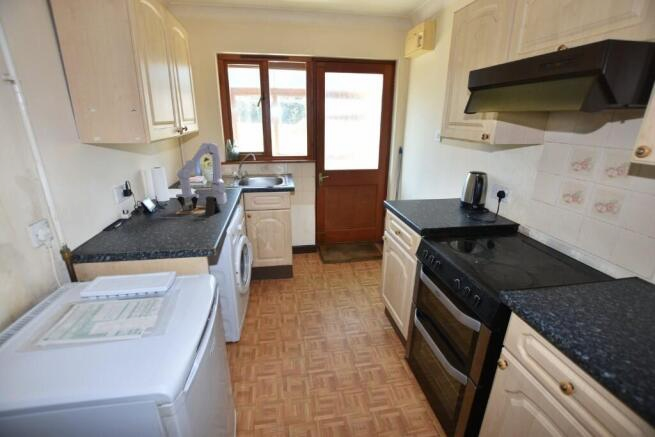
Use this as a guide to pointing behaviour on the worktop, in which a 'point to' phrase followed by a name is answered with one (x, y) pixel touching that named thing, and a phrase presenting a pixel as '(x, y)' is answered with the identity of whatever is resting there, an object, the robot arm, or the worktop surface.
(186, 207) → the bar
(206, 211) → the phone stand
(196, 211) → the board
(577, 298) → the worktop surface
